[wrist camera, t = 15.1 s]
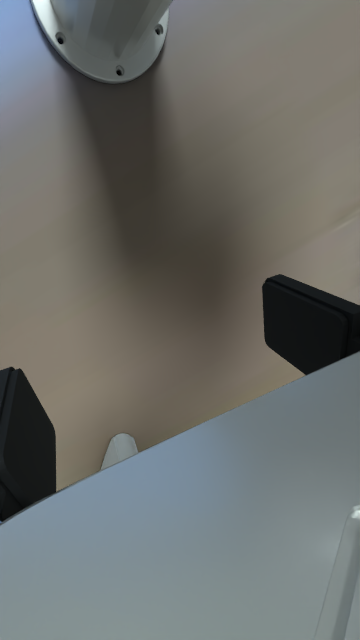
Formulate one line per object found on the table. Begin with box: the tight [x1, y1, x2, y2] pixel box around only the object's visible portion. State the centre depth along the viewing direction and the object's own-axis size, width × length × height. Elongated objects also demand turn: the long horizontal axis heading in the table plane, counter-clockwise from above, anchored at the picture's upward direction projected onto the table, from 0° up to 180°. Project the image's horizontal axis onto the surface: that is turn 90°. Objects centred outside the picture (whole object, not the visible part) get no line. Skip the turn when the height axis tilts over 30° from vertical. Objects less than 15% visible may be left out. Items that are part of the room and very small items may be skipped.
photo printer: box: [101, 433, 138, 470], centre depth 45 cm, size 10×4×12 cm, turn 159°
